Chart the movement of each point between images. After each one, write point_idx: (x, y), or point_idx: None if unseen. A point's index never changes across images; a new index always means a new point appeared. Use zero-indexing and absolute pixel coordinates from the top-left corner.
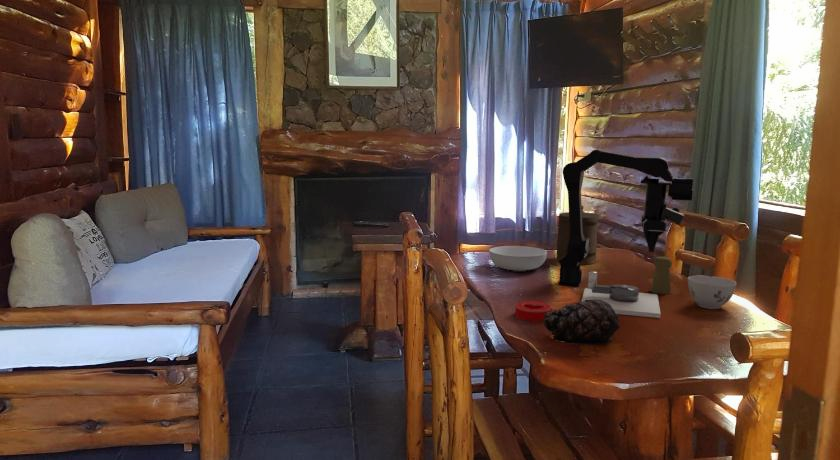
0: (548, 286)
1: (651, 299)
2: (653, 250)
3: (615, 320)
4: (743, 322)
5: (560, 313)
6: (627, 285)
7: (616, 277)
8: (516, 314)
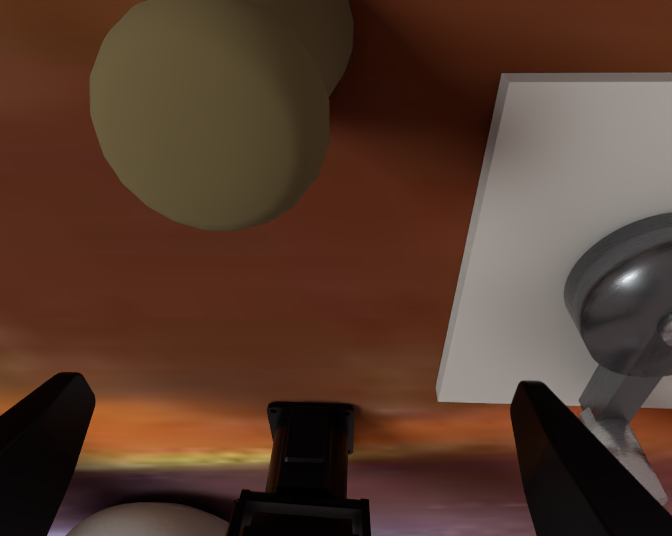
0: (385, 465)
1: (669, 129)
2: (558, 399)
3: None
4: None
5: None
6: (611, 307)
7: (57, 284)
8: None
